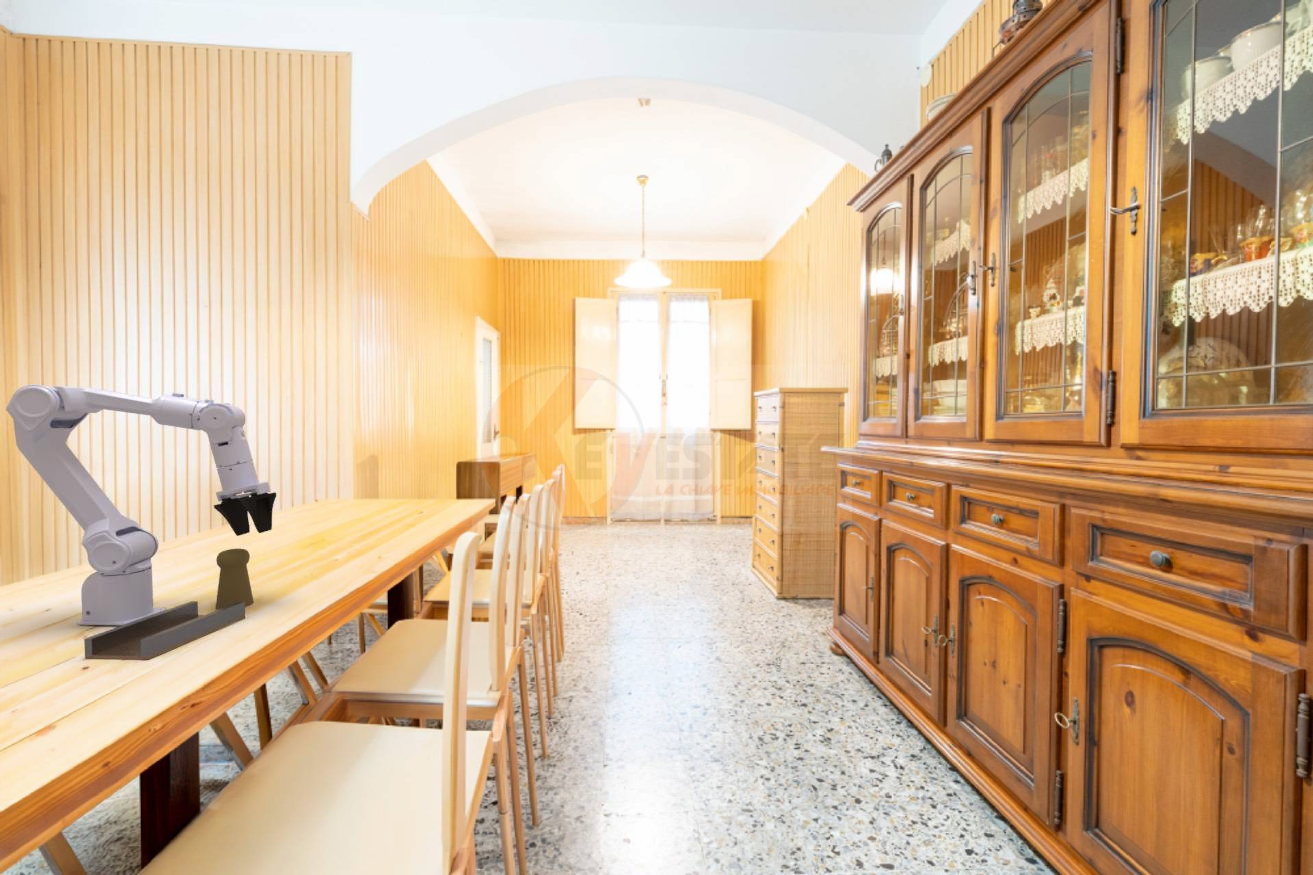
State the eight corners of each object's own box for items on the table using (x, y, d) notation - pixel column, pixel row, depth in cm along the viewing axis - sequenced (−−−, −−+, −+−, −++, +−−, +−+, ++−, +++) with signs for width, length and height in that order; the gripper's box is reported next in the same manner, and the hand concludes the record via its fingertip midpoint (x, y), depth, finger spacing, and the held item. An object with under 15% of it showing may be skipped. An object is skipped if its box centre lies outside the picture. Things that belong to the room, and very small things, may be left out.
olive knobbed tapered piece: (233, 611, 106) (231, 553, 106) (207, 609, 107) (205, 552, 107) (261, 601, 112) (259, 546, 112) (236, 599, 113) (234, 545, 113)
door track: (85, 658, 85) (84, 638, 85) (192, 617, 103) (191, 601, 103) (148, 659, 84) (147, 639, 84) (245, 618, 102) (244, 601, 102)
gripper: (278, 455, 108) (296, 523, 109) (236, 465, 114) (254, 529, 115) (238, 463, 102) (258, 535, 103) (197, 473, 108) (216, 540, 109)
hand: (254, 532), depth 109 cm, fingers open, 7 cm apart
